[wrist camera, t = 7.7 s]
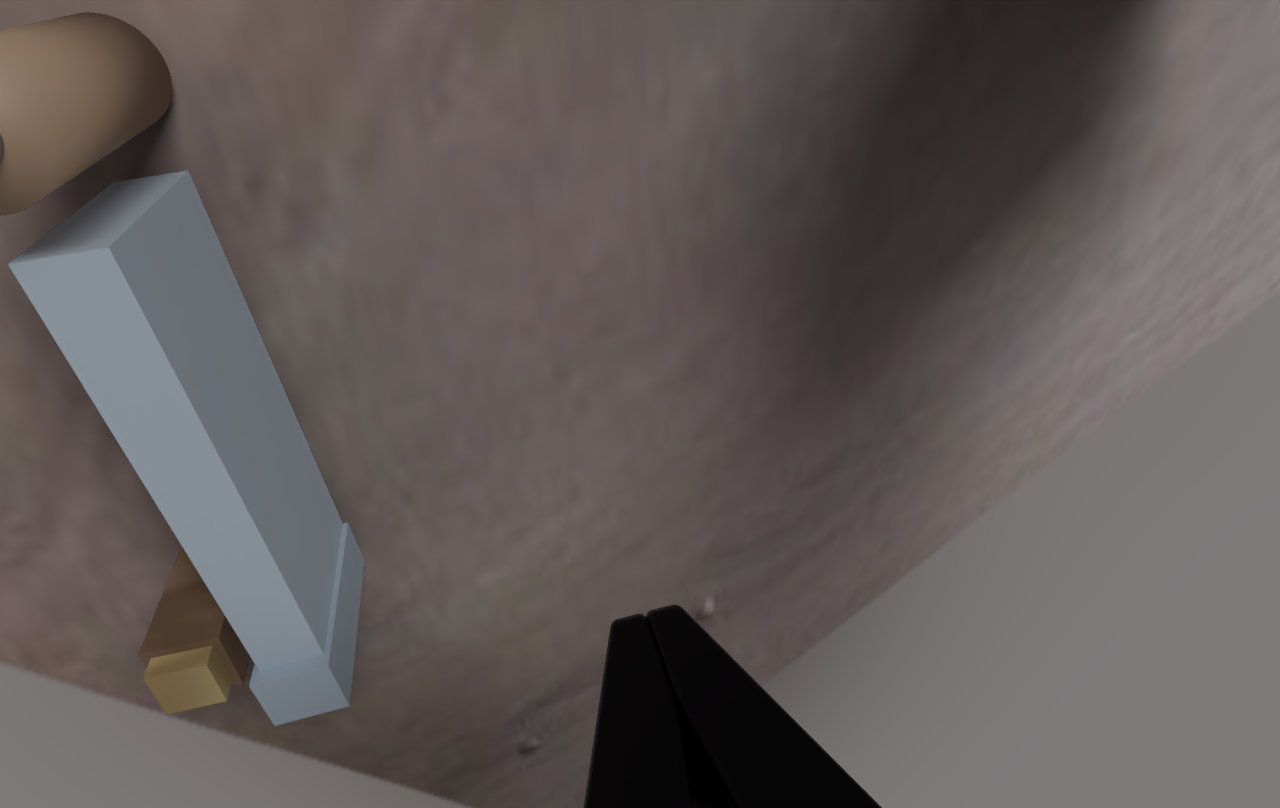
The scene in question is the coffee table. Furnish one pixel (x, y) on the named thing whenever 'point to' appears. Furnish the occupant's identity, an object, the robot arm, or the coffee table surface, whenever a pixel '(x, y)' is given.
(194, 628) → the brown rectangular block
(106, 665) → the coffee table surface
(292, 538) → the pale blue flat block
